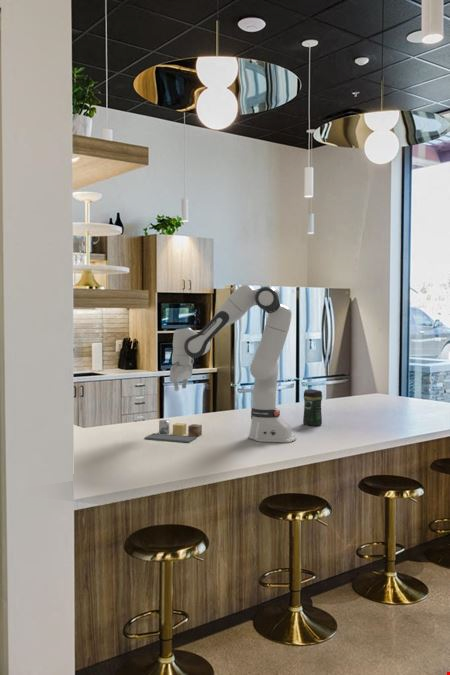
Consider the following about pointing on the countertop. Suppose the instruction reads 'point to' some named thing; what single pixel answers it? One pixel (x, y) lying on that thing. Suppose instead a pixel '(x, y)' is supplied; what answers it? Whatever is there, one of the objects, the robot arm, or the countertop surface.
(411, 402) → the countertop surface
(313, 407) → the coffee jar
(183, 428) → the mustard block
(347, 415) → the countertop surface
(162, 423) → the metal canister
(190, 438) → the rubber mat
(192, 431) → the walnut block
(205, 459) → the countertop surface
